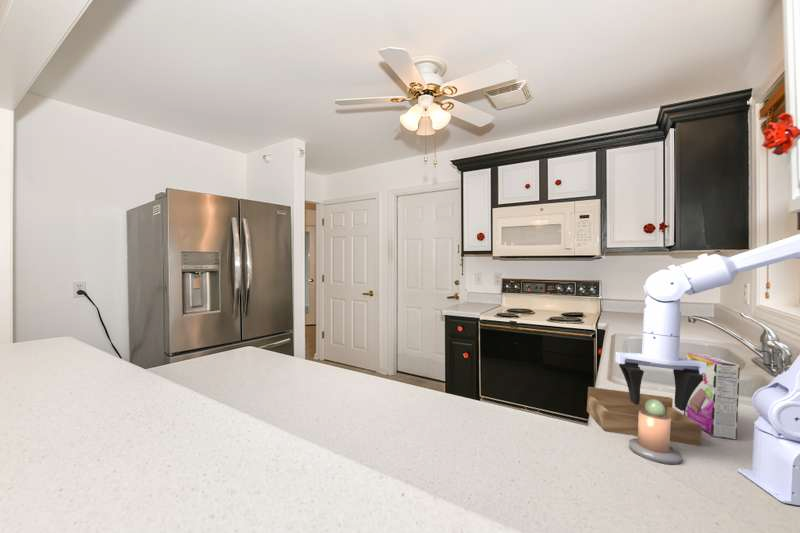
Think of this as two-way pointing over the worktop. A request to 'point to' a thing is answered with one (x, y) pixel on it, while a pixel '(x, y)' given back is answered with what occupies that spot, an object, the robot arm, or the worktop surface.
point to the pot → (654, 427)
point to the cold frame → (637, 414)
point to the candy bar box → (716, 397)
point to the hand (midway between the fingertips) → (657, 405)
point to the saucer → (655, 454)
